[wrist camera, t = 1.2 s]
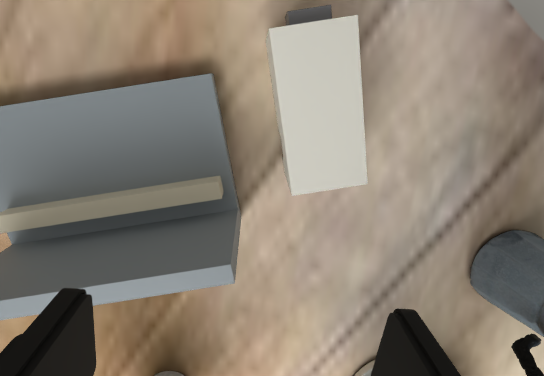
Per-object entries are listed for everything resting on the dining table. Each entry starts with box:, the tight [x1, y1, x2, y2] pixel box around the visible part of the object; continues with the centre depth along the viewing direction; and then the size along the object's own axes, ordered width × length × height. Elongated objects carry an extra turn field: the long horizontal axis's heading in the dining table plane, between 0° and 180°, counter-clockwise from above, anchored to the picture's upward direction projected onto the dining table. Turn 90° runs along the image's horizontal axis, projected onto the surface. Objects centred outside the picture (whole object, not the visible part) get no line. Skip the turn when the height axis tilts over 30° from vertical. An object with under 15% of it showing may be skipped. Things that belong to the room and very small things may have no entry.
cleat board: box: [0, 73, 241, 320], centre depth 26 cm, size 22×14×12 cm, turn 98°
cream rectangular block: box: [266, 5, 368, 196], centre depth 27 cm, size 6×13×7 cm, turn 8°
